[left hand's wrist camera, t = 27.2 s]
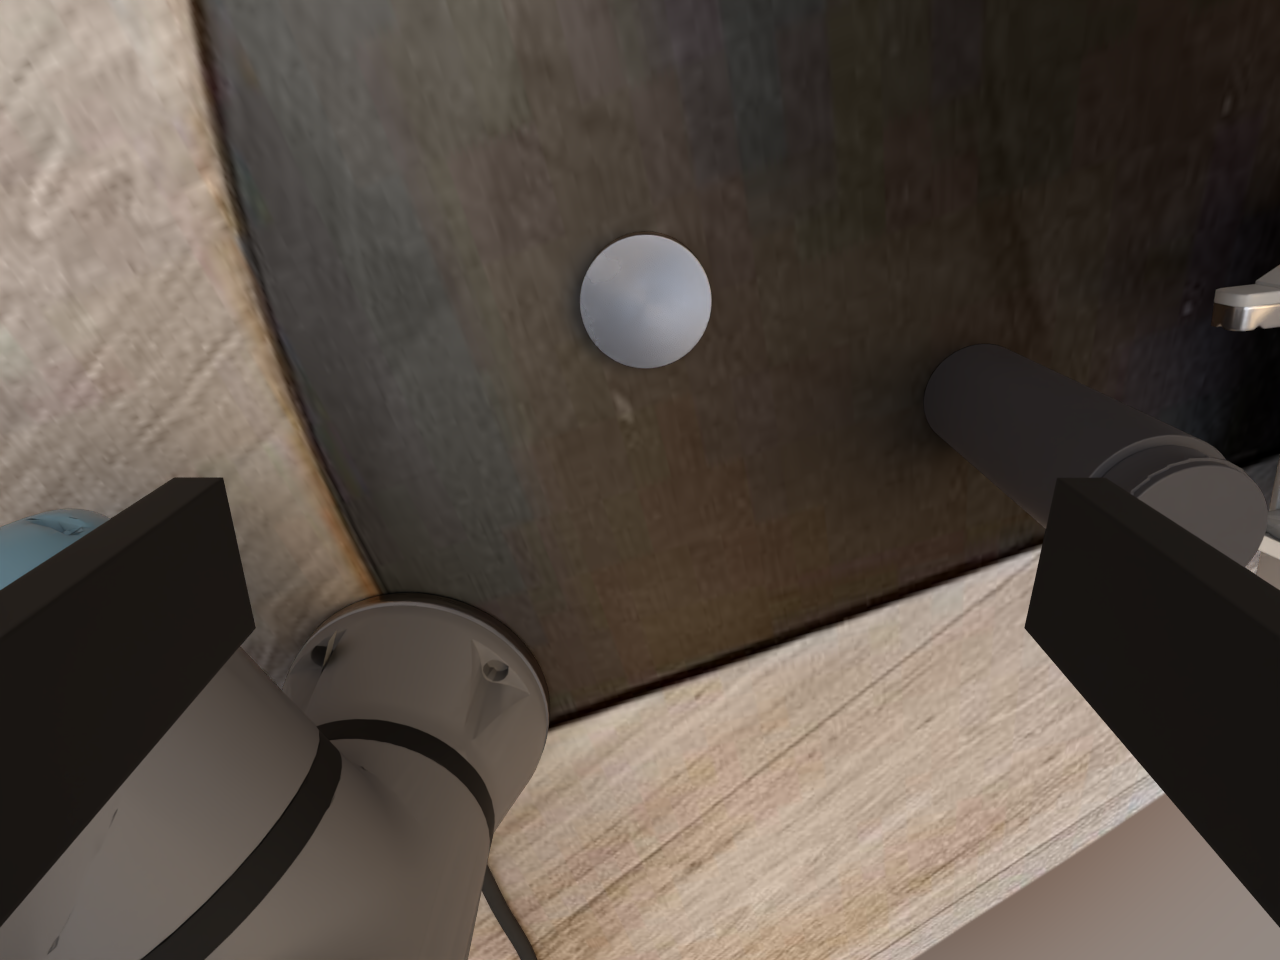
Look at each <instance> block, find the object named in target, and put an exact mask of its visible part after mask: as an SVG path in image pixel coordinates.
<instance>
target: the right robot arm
mask: <svg viewBox="0 0 1280 960" xmlns="http://www.w3.org/2000/svg"><path fill="white" fill-rule="evenodd" d="M1211 326H1214V327H1223V328H1224V329H1226V330H1231V331H1248V330H1253V329H1255V328H1256V327H1259V328H1263V329H1266V328H1274V327H1280V265H1278V266H1277V267H1276V268H1274V269H1273V270H1271V271H1270V272H1268V273H1267V274H1265V275H1264V276H1262V277H1261V278H1259V279H1258V280H1256V282H1255V284H1251V285H1243V286H1234V287H1226V288H1219V289H1216V292H1215V298H1214V307H1213V314H1212V321H1211ZM1258 550H1259V551H1261V553H1260V558H1259V563H1258V568H1257V572H1256V575H1257V576H1259V577H1260V578H1262V579H1263V580H1265V581H1266V582H1268V583H1269V584H1271V585H1273V586H1274V587H1276V588H1277V589H1279V590H1280V456H1279V461H1278V466H1277V471H1276V476H1275V482H1274V487H1273V492H1272V497H1271V502H1270V507H1269V511H1268V522H1267V528H1266V532H1265V535H1264V538H1263V541H1262V543H1261V545H1260V547H1259V549H1258Z"/></svg>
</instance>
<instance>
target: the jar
mask: <svg viewBox="0 0 1280 960" xmlns="http://www.w3.org/2000/svg"><path fill="white" fill-rule="evenodd" d="M924 411H925V415H926V419H927V421H928V423H929V425H930V426H931V428H932V429H933V431H934V432H935V433H936V434H937V435H938V436H940V437H941V438H942V439H943V440H944V441H945V442H946V443H948V444H949V445H950V446H951V447H952V448H953V449H955V450H956V451H957V452H958V453H959V454H960V455H961V456H963V457H964V458H965V459H966V460H967V461H968V462H970V463H971V464H972V465H973V466H974V467H975V468H976V469H978V470H979V471H980V472H981V473H982V474H983V475H985V476H986V477H987V478H988V479H989V480H990V481H991V482H993V483H994V484H995V485H996V486H997V487H998V488H1000V489H1001V490H1002V491H1003V492H1004V493H1005V494H1006V495H1008V496H1009V497H1010V498H1011V499H1012V500H1013V501H1015V502H1016V503H1017V504H1018V505H1019V506H1020V507H1021V508H1023V509H1024V510H1025V511H1026V512H1027V513H1028V514H1030V515H1031V516H1032V517H1033V518H1034V519H1035V520H1036V521H1038V522H1039V523H1040V524H1041V525H1042V526H1043V527H1045V528H1046V526H1047V522H1048V517H1049V512H1050V508H1051V503H1052V498H1053V494H1054V489H1055V485H1056V480H1057V478H1107V479H1109V480H1110V481H1112V482H1113V483H1115V484H1116V485H1118V486H1119V487H1121V488H1122V489H1124V490H1126V491H1127V492H1129V493H1130V494H1132V495H1133V496H1135V497H1136V498H1138V499H1139V500H1141V501H1143V502H1144V503H1146V504H1147V505H1149V506H1150V507H1152V508H1153V509H1155V510H1156V511H1158V512H1160V513H1161V514H1163V515H1164V516H1166V517H1167V518H1169V519H1170V520H1172V521H1174V522H1175V523H1177V524H1178V525H1180V526H1181V527H1183V528H1184V529H1186V530H1187V531H1189V532H1191V533H1192V534H1194V535H1195V536H1197V537H1198V538H1200V539H1201V540H1203V541H1204V542H1206V543H1208V544H1209V545H1211V546H1212V547H1214V548H1215V549H1217V550H1218V551H1220V552H1221V553H1223V554H1225V555H1226V556H1228V557H1229V558H1231V559H1232V560H1234V561H1235V562H1237V563H1239V564H1240V565H1242V566H1243V567H1245V566H1246V565H1247V564H1248V563H1249V562H1250V560H1251V559H1252V558H1253V557H1254V555H1255V554H1256V552H1257V550H1258V549H1259V547H1260V545H1261V543H1262V541H1263V538H1264V535H1265V532H1266V528H1267V522H1268V510H1267V504H1266V500H1265V497H1264V495H1263V493H1262V491H1261V489H1260V488H1259V487H1258V485H1257V484H1256V483H1255V482H1254V481H1253V480H1252V479H1251V478H1250V477H1249V476H1248V475H1247V474H1246V473H1245V472H1244V470H1243V469H1242V468H1240V467H1238V466H1236V465H1234V464H1233V463H1231V462H1229V461H1227V460H1226V459H1225V458H1224V456H1223V455H1222V454H1221V453H1220V452H1219V451H1218V450H1217V449H1216V448H1215V447H1213V446H1212V445H1210V444H1208V443H1207V442H1205V441H1203V440H1201V439H1198V438H1196V437H1194V436H1192V435H1190V434H1188V433H1186V432H1184V431H1181V430H1179V429H1177V428H1175V427H1173V426H1171V425H1169V424H1166V423H1164V422H1162V421H1160V420H1158V419H1156V418H1154V417H1152V416H1149V415H1147V414H1145V413H1143V412H1141V411H1139V410H1137V409H1134V408H1132V407H1130V406H1128V405H1126V404H1124V403H1122V402H1119V401H1117V400H1115V399H1113V398H1111V397H1109V396H1107V395H1105V394H1102V393H1100V392H1098V391H1096V390H1094V389H1092V388H1090V387H1087V386H1085V385H1083V384H1081V383H1079V382H1077V381H1075V380H1073V379H1070V378H1068V377H1066V376H1064V375H1062V374H1060V373H1058V372H1055V371H1053V370H1051V369H1049V368H1047V367H1045V366H1043V365H1041V364H1038V363H1036V362H1034V361H1032V360H1030V359H1028V358H1026V357H1023V356H1021V355H1019V354H1017V353H1015V352H1013V351H1011V350H1009V349H1006V348H1004V347H1002V346H998V345H993V344H978V345H972V346H969V347H966V348H963V349H961V350H959V351H957V352H955V353H953V354H952V355H950V356H949V357H947V358H946V359H945V360H944V361H943V362H942V363H941V364H940V365H939V366H938V367H937V368H936V370H935V371H934V372H933V374H932V376H931V377H930V379H929V382H928V384H927V386H926V390H925V395H924Z"/></svg>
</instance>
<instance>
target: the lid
mask: <svg viewBox="0 0 1280 960" xmlns="http://www.w3.org/2000/svg"><path fill="white" fill-rule="evenodd" d="M711 309H712V293H711V288H710V283H709V280H708V277H707V275H706V273H705V270H704V268H703V267H702V265H701V264H700V262H699V261H698V259H697V258H696V256H695V255H694V254H693V253H692V252H691V251H690V249H688V248H687V247H686V246H685V245H684V244H682V243H681V242H680V241H678V240H677V239H674V238H672V237H670V236H668V235H665V234H662V233H657V232H649V231H642V232H634V233H630V234H626V235H624V236H621V237H619V238H617V239H615V240H613V241H612V242H610V243H609V244H608V245H606V246H605V247H604V248H603V249H602V250H601V251H600V252H599V253H598V254H597V255H596V257H595V258H594V259H593V261H592V263H591V265H590V266H589V268H588V270H587V272H586V274H585V276H584V279H583V282H582V286H581V291H580V313H581V317H582V321H583V324H584V327H585V329H586V332H587V333H588V335H589V337H590V339H591V340H592V341H593V343H594V344H595V345H596V346H597V347H598V349H599V350H600V351H601V352H603V353H604V354H605V355H606V356H608V357H609V358H611V359H612V360H614V361H616V362H618V363H620V364H623V365H626V366H629V367H634V368H642V369H649V368H658V367H662V366H666V365H668V364H671V363H673V362H675V361H677V360H679V359H681V358H682V357H683V356H685V355H686V354H687V353H689V352H690V351H691V350H692V349H693V348H694V347H695V346H696V344H697V343H698V342H699V340H700V339H701V337H702V336H703V334H704V332H705V330H706V328H707V325H708V323H709V320H710V315H711Z"/></svg>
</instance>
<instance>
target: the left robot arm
mask: <svg viewBox="0 0 1280 960" xmlns="http://www.w3.org/2000/svg"><path fill="white" fill-rule="evenodd" d="M254 629H255V623H254V619H253V614H252V609H251V605H250V600H249V596H248V591H247V586H246V582H245V577H244V572H243V568H242V563H241V559H240V554H239V549H238V545H237V540H236V535H235V531H234V526H233V522H232V517H231V512H230V508H229V503H228V498H227V494H226V489H225V485H224V480H223V478H173V479H171V480H170V481H168V482H167V483H165V484H164V485H162V486H161V487H159V488H158V489H156V490H154V491H153V492H151V493H150V494H148V495H147V496H145V497H144V498H142V499H141V500H139V501H137V502H136V503H134V504H133V505H131V506H130V507H128V508H127V509H125V510H124V511H122V512H120V513H119V514H117V515H116V516H114V517H113V518H111V519H110V518H108V517H106V516H104V515H102V514H99V513H96V512H92V511H88V510H82V509H60V510H53V511H48V512H43V513H40V514H36V515H33V516H29V517H26V518H23V519H21V520H18V521H15V522H12V523H10V524H7V525H5V526H2V527H0V960H468V956H469V951H470V946H471V941H472V936H473V931H474V926H475V921H476V916H477V911H478V906H479V901H480V896H481V891H482V892H483V894H484V896H485V898H486V900H487V902H488V904H489V906H490V908H491V910H492V912H493V913H494V915H495V917H496V919H497V920H498V922H499V924H500V925H501V927H502V929H503V930H504V932H505V933H506V935H507V936H508V938H509V940H510V941H511V943H512V944H513V946H514V948H515V949H516V951H517V953H518V955H519V957H520V959H521V960H537V958H536V955H535V953H534V951H533V948H532V946H531V944H530V943H529V941H528V939H527V937H526V935H525V934H524V932H523V930H522V929H521V927H520V926H519V924H518V922H517V921H516V919H515V918H514V916H513V914H512V913H511V911H510V909H509V907H508V906H507V904H506V902H505V900H504V898H503V896H502V894H501V892H500V890H499V888H498V886H497V884H496V882H495V880H494V878H493V876H492V873H491V871H490V869H489V867H488V865H487V861H488V856H489V851H490V847H491V842H492V838H493V834H494V832H495V830H496V829H497V827H498V826H499V824H500V823H501V821H502V820H503V818H504V817H505V815H506V814H507V812H508V811H509V809H510V808H511V807H512V805H513V804H514V802H515V801H516V799H517V798H518V796H519V795H520V793H521V792H522V790H523V789H524V787H525V786H526V785H527V783H528V782H529V780H530V779H531V777H532V775H533V773H534V772H535V770H536V767H537V765H538V763H539V760H540V758H541V755H542V752H543V750H544V746H545V743H546V739H547V733H548V727H549V720H550V699H549V692H548V688H547V684H546V681H545V678H544V675H543V673H542V671H541V669H540V666H539V664H538V663H537V661H536V659H535V658H534V656H533V655H532V653H531V652H530V650H529V649H528V648H527V647H526V645H525V644H524V643H523V642H522V641H521V640H520V639H519V638H518V637H517V636H516V635H515V634H514V633H513V632H512V631H511V630H510V629H509V628H507V627H506V626H505V625H503V624H502V623H501V622H499V621H498V620H497V619H495V618H493V617H492V616H490V615H488V614H487V613H485V612H483V611H481V610H479V609H477V608H475V607H473V606H470V605H468V604H465V603H463V602H460V601H456V600H453V599H450V598H446V597H441V596H436V595H430V594H422V593H395V594H387V595H381V596H376V597H372V598H368V599H365V600H362V601H359V602H356V603H354V604H352V605H350V606H347V607H345V608H344V609H342V610H340V611H338V612H337V613H335V614H334V615H332V616H331V617H330V618H328V619H327V620H326V621H325V622H323V623H322V624H321V625H320V626H319V627H318V628H317V629H316V630H315V631H314V633H313V634H312V635H311V636H310V638H309V639H308V640H307V642H306V643H305V645H304V646H303V647H302V649H301V650H300V652H299V653H298V655H297V656H296V658H295V660H294V662H293V664H292V666H291V668H290V671H289V673H288V675H287V677H286V680H285V683H284V685H283V689H282V690H281V689H280V688H279V687H278V686H277V685H276V684H275V683H274V682H273V681H272V680H271V679H270V678H269V677H268V676H267V675H266V673H265V672H264V671H263V670H262V669H261V668H260V667H259V666H258V665H257V664H256V663H255V662H254V661H253V660H252V659H251V658H250V656H249V655H248V654H247V653H246V652H245V651H244V650H243V649H242V648H241V647H240V646H241V644H242V643H243V642H244V641H245V640H246V639H247V637H248V636H249V635H250V634H251V633H252V632H253V630H254ZM1025 629H1026V630H1027V632H1028V633H1029V634H1030V635H1031V636H1032V637H1033V639H1034V640H1035V641H1036V642H1037V643H1038V644H1039V646H1040V647H1041V648H1042V649H1043V650H1044V651H1045V653H1046V654H1047V655H1048V656H1049V657H1050V659H1051V660H1052V661H1053V662H1054V663H1055V664H1056V666H1057V667H1058V668H1059V669H1060V670H1061V671H1062V673H1063V674H1064V675H1065V676H1066V677H1067V678H1068V680H1069V681H1070V682H1071V683H1072V684H1073V686H1074V687H1075V688H1076V689H1077V690H1078V691H1079V693H1080V694H1081V695H1082V696H1083V697H1084V698H1085V700H1086V701H1087V702H1088V703H1089V704H1090V705H1091V707H1092V708H1093V709H1094V710H1095V711H1096V713H1097V714H1098V715H1099V716H1100V717H1101V718H1102V720H1103V721H1104V722H1105V723H1106V724H1107V725H1108V727H1109V728H1110V729H1111V730H1112V731H1113V732H1114V734H1115V735H1116V736H1117V737H1118V738H1119V739H1120V741H1121V742H1122V743H1123V744H1124V745H1125V747H1126V748H1127V749H1128V750H1129V751H1130V752H1131V754H1132V755H1133V756H1134V757H1135V758H1136V759H1137V761H1138V762H1139V763H1140V764H1141V765H1142V766H1143V768H1144V769H1145V770H1146V771H1147V772H1148V774H1149V775H1150V776H1151V777H1152V778H1153V779H1154V781H1155V782H1156V783H1157V784H1158V785H1159V786H1160V788H1161V789H1162V790H1163V791H1164V792H1165V793H1166V795H1167V796H1168V797H1169V798H1170V799H1171V800H1172V802H1173V803H1174V804H1175V805H1176V806H1177V808H1178V809H1179V810H1180V811H1181V812H1182V813H1183V814H1184V816H1185V817H1186V818H1187V819H1188V820H1189V822H1190V823H1191V824H1192V825H1193V826H1194V828H1195V829H1196V830H1197V831H1198V832H1199V833H1200V835H1201V836H1202V837H1203V838H1204V839H1205V840H1206V842H1207V843H1208V844H1209V845H1210V846H1211V847H1212V849H1213V850H1214V851H1215V852H1216V853H1217V854H1218V856H1219V857H1220V858H1221V859H1222V860H1223V861H1224V863H1225V864H1226V865H1227V866H1228V867H1229V869H1230V870H1231V871H1232V872H1233V873H1234V874H1235V876H1236V877H1237V878H1238V879H1239V880H1240V881H1241V883H1242V884H1243V885H1244V886H1245V887H1246V889H1247V890H1248V891H1249V892H1250V893H1251V894H1252V896H1253V897H1254V898H1255V899H1256V900H1257V901H1258V903H1259V904H1260V905H1261V906H1262V907H1263V908H1264V910H1265V911H1266V912H1267V913H1268V914H1269V916H1270V917H1271V918H1272V919H1273V920H1274V921H1275V922H1276V924H1277V925H1278V926H1279V927H1280V590H1279V589H1277V588H1276V587H1274V586H1273V585H1271V584H1269V583H1268V582H1266V581H1265V580H1263V579H1262V578H1260V577H1259V576H1257V575H1256V574H1254V573H1252V572H1251V571H1249V570H1248V569H1246V568H1245V567H1243V566H1242V565H1240V564H1239V563H1237V562H1235V561H1234V560H1232V559H1231V558H1229V557H1228V556H1226V555H1225V554H1223V553H1221V552H1220V551H1218V550H1217V549H1215V548H1214V547H1212V546H1211V545H1209V544H1208V543H1206V542H1204V541H1203V540H1201V539H1200V538H1198V537H1197V536H1195V535H1194V534H1192V533H1191V532H1189V531H1187V530H1186V529H1184V528H1183V527H1181V526H1180V525H1178V524H1177V523H1175V522H1174V521H1172V520H1170V519H1169V518H1167V517H1166V516H1164V515H1163V514H1161V513H1160V512H1158V511H1156V510H1155V509H1153V508H1152V507H1150V506H1149V505H1147V504H1146V503H1144V502H1143V501H1141V500H1139V499H1138V498H1136V497H1135V496H1133V495H1132V494H1130V493H1129V492H1127V491H1126V490H1124V489H1122V488H1121V487H1119V486H1118V485H1116V484H1115V483H1113V482H1112V481H1110V480H1109V479H1107V478H1057V480H1056V485H1055V489H1054V494H1053V498H1052V503H1051V508H1050V512H1049V517H1048V522H1047V526H1046V531H1045V535H1044V540H1043V545H1042V549H1041V554H1040V559H1039V563H1038V568H1037V572H1036V577H1035V582H1034V586H1033V591H1032V596H1031V600H1030V605H1029V609H1028V614H1027V619H1026V623H1025Z"/></svg>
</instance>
